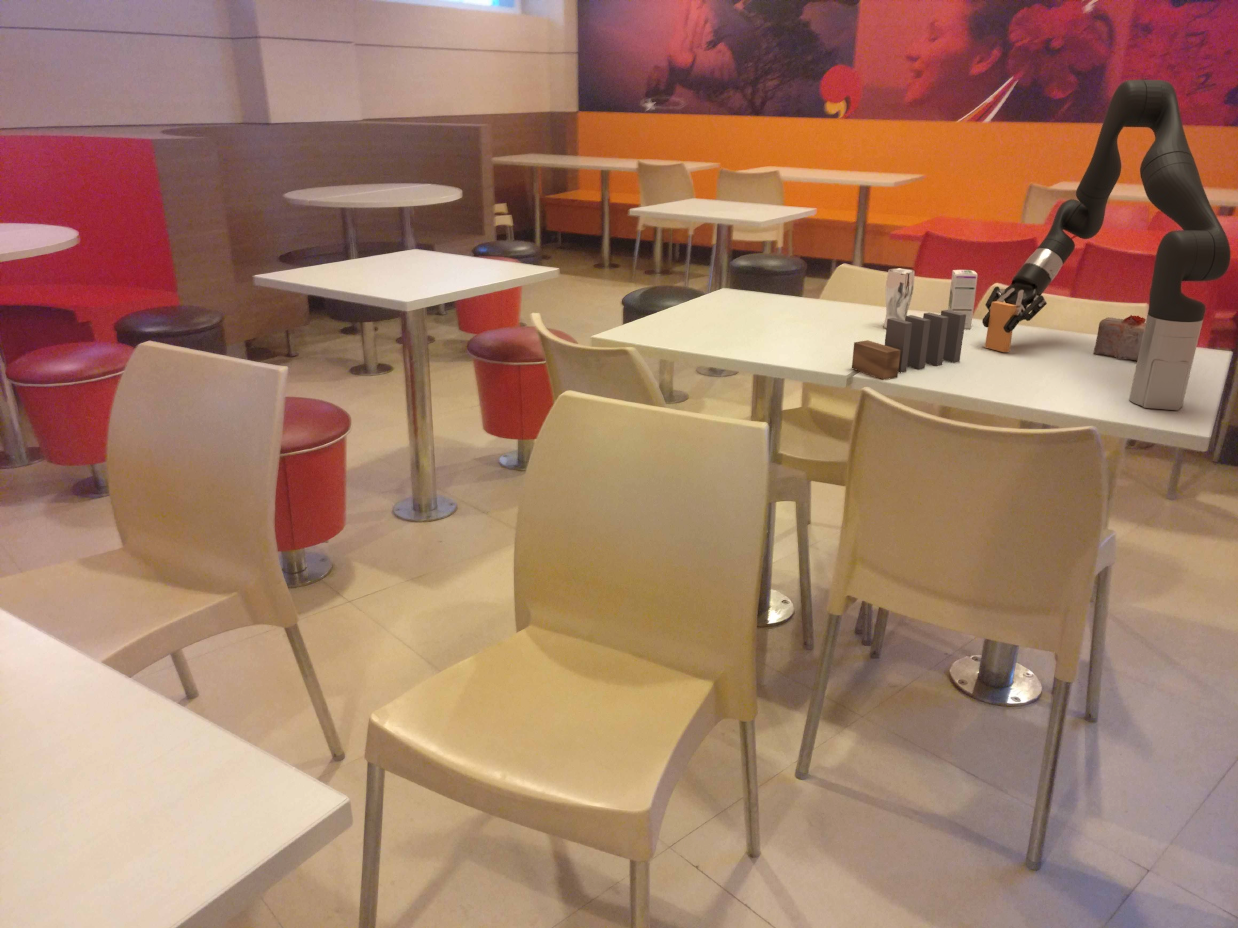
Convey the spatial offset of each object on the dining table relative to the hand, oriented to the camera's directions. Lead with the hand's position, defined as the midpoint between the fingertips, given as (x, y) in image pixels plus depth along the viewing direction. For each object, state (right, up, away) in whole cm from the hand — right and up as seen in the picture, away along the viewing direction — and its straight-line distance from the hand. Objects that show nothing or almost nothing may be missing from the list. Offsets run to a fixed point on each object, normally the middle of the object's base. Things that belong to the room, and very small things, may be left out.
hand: (995, 327), depth 212 cm
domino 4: (-13, -8, -4) cm, 16 cm away
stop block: (-33, -12, -14) cm, 38 cm away
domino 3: (-18, -9, -7) cm, 21 cm away
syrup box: (+1, +4, +26) cm, 26 cm away
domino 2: (-23, -10, -9) cm, 26 cm away
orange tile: (+2, -5, +3) cm, 6 cm away
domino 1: (-28, -11, -12) cm, 32 cm away
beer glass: (-16, +3, +25) cm, 30 cm away
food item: (+29, -8, -3) cm, 30 cm away
